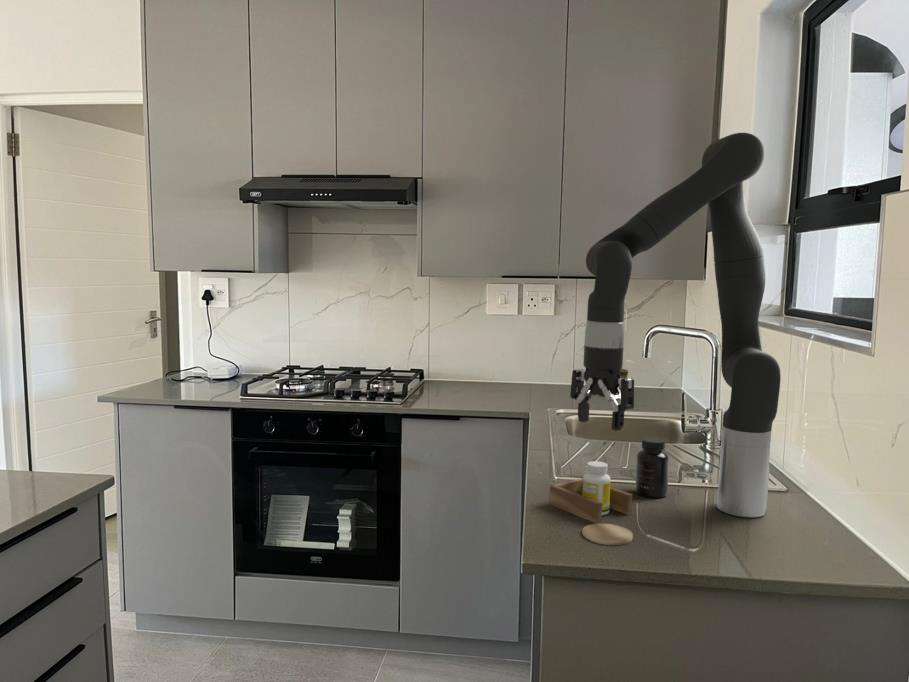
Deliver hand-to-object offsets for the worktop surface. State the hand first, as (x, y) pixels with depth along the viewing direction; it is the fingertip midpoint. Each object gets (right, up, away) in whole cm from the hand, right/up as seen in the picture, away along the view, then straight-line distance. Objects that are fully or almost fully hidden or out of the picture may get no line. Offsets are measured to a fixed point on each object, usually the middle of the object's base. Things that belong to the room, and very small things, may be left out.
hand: (599, 425), depth 140 cm
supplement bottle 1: (0, -18, +2) cm, 18 cm away
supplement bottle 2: (+14, -17, +14) cm, 26 cm away
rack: (-1, -17, +3) cm, 18 cm away
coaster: (-1, -19, -11) cm, 22 cm away
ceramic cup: (+31, -4, +133) cm, 137 cm away
